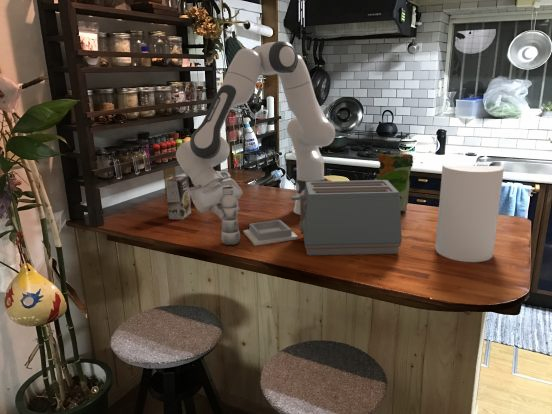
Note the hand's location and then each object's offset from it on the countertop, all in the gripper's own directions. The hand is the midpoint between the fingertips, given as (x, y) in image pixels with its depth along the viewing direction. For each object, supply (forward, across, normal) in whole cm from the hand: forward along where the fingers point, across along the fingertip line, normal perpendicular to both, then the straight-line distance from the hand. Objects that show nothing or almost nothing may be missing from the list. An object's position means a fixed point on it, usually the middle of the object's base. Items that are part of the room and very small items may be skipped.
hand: (230, 214), depth 155 cm
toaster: (+31, +20, -15) cm, 40 cm away
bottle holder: (+12, +13, +3) cm, 18 cm away
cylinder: (+56, +35, -40) cm, 77 cm away
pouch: (+31, +62, -15) cm, 71 cm away
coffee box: (-20, +12, +36) cm, 43 cm away
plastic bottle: (+7, 0, +8) cm, 11 cm away
